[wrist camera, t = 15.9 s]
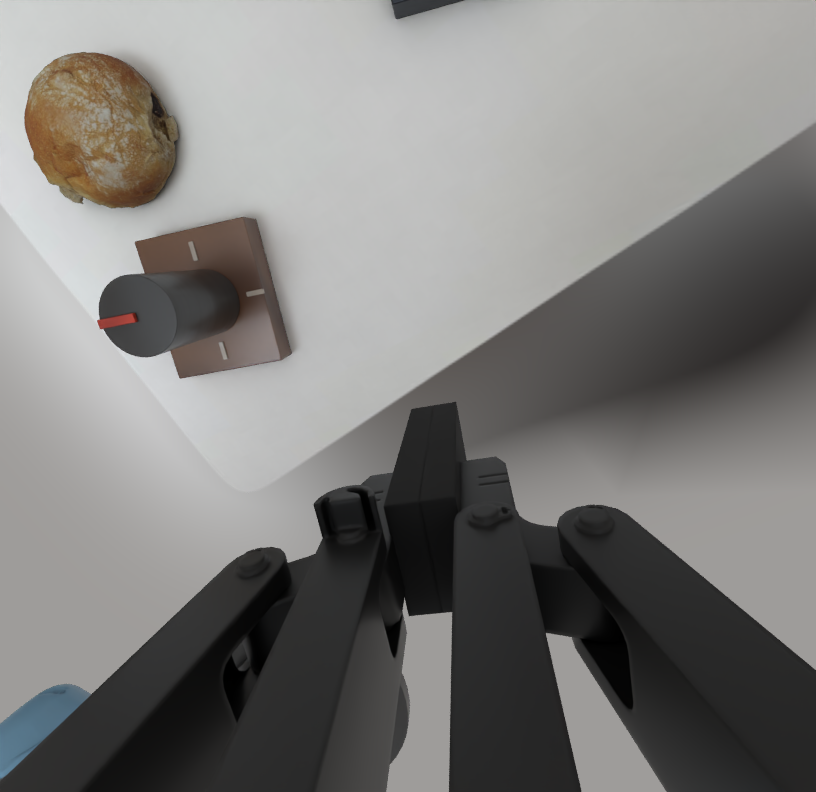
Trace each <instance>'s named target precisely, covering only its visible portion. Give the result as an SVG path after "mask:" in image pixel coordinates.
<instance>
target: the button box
mask: <svg viewBox="0 0 816 792" xmlns="http://www.w3.org/2000/svg"><path fill="white" fill-rule="evenodd" d="M459 1H463V0H391V2H392V6H393V10H394V14H395V18H396V19H398V18H402V17H405V16H409V15H413V14H416V13H420V12H423V11H427V10H430V9H434V8H438V7H441V6H445V5H448V4H452V3H455V2H459Z"/></svg>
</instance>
